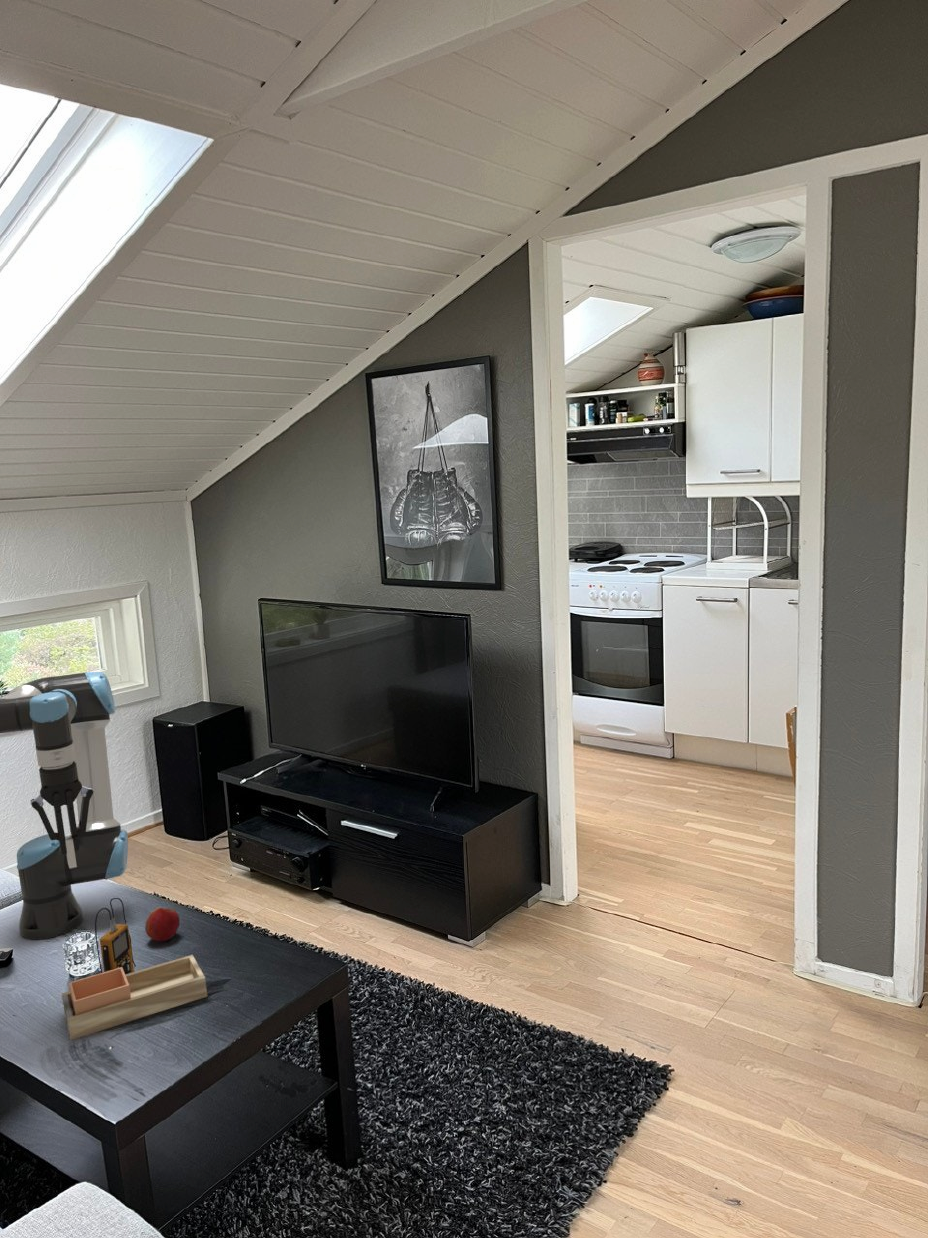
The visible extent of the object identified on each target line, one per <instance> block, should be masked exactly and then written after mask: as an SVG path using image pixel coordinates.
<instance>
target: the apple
mask: <svg viewBox="0 0 928 1238" xmlns="http://www.w3.org/2000/svg"><path fill="white" fill-rule="evenodd" d="M179 926H180V916H179V914H178V912H177V911H176V910H174V909H170V908H166V907H165V908H164V907H157V908H156V909H154V910H152V912H150V914H149V915H148V917H147V918H146V921H145V926H144V928H145V929H144V930H145V933H146V935H147V936H148V937H149V938H150V939H151V940H153V941H157V942H165V941H168V940H170V939H172V938H173V937H174V936H175V934H176V932H177V931H178V929H179Z"/></svg>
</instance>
